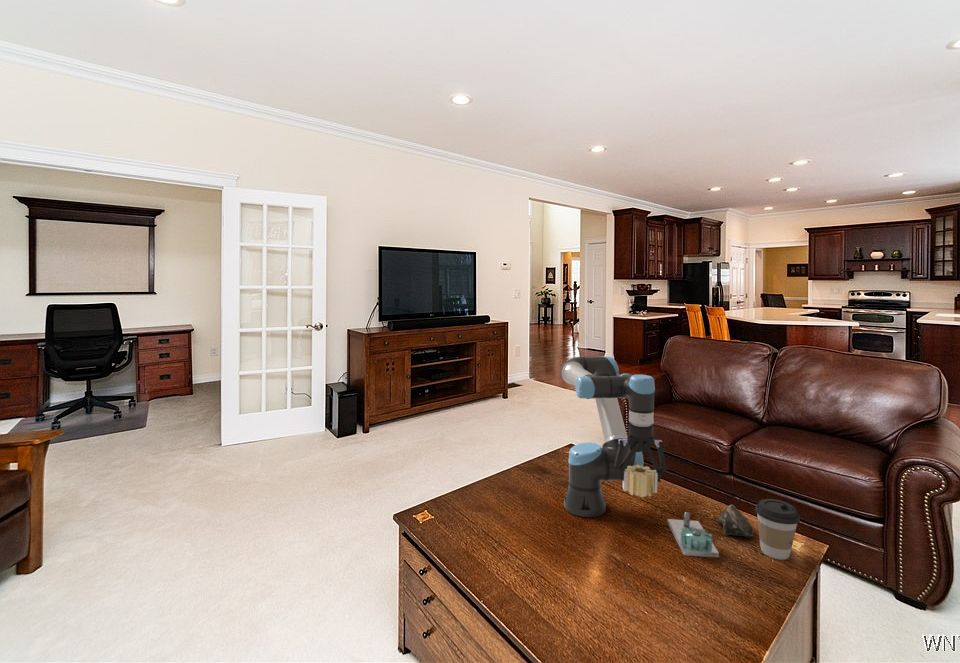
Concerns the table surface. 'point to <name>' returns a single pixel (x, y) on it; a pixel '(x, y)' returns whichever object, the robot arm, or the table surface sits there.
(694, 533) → the carrier
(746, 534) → the grey rock
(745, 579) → the table surface
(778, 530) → the coffee cup
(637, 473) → the gear
